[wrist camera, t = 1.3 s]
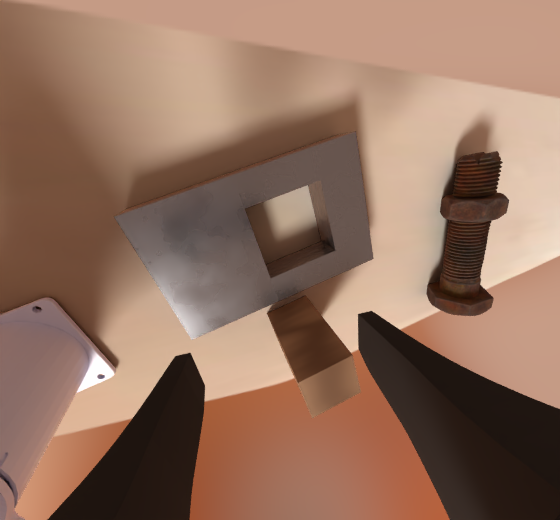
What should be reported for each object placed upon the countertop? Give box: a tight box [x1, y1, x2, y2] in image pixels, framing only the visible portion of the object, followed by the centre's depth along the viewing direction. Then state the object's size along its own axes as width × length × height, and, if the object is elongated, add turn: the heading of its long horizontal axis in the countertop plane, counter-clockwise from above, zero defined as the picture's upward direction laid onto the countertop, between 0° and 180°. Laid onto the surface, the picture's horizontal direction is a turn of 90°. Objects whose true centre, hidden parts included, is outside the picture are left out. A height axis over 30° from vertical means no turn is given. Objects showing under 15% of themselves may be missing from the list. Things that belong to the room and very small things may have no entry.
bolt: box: [427, 151, 509, 316], centre depth 24 cm, size 6×5×15 cm
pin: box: [267, 296, 361, 418], centre depth 20 cm, size 4×4×8 cm
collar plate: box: [114, 131, 373, 340], centre depth 18 cm, size 16×10×2 cm, turn 107°
